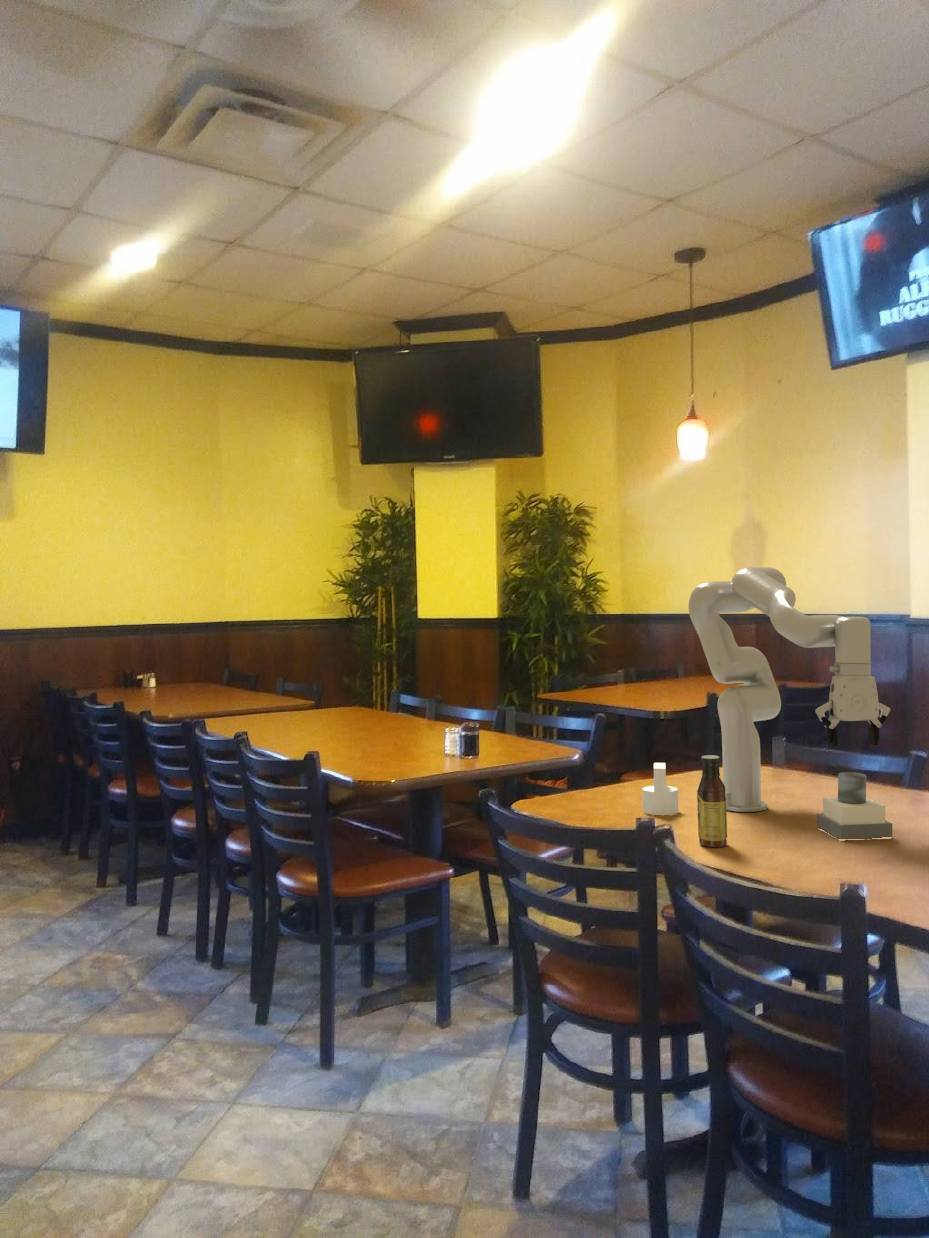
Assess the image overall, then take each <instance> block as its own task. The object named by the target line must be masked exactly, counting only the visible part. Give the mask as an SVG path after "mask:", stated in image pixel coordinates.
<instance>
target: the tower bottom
mask: <svg viewBox="0 0 929 1238" xmlns="http://www.w3.org/2000/svg"><path fill="white" fill-rule="evenodd" d="M817 828H819V829H822V830H824V831H825V832H827V833H829V834H830V835H832V836H834V837H836V838H837V839H872V838H882V837H892V838H893V823H892V822H890V821H888V820H885V823H884V824H853V825H841V824H839V823H837V822H836V821H834V820H832V819H830V818H828V817H827V816H825V815H823V812H822V813H816V829H817ZM837 839H836V840H837Z"/></svg>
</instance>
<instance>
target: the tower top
mask: <svg viewBox="0 0 929 1238" xmlns="http://www.w3.org/2000/svg"><path fill="white" fill-rule="evenodd" d="M822 813H823V815H825V816H827V817H828V818H830V819H832V820H834V821H836V822H837V823H839V824H841V825H853V824H884V823H885V821H886V805H885V804H882V803H880V802H878V801H876V800H873V799H871V798H869V797H867V796H866V803H864V804H848V803H843V802H840V801H838V796H835V797H834V796H832V797H830V796H829V797H823V798H822Z"/></svg>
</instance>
